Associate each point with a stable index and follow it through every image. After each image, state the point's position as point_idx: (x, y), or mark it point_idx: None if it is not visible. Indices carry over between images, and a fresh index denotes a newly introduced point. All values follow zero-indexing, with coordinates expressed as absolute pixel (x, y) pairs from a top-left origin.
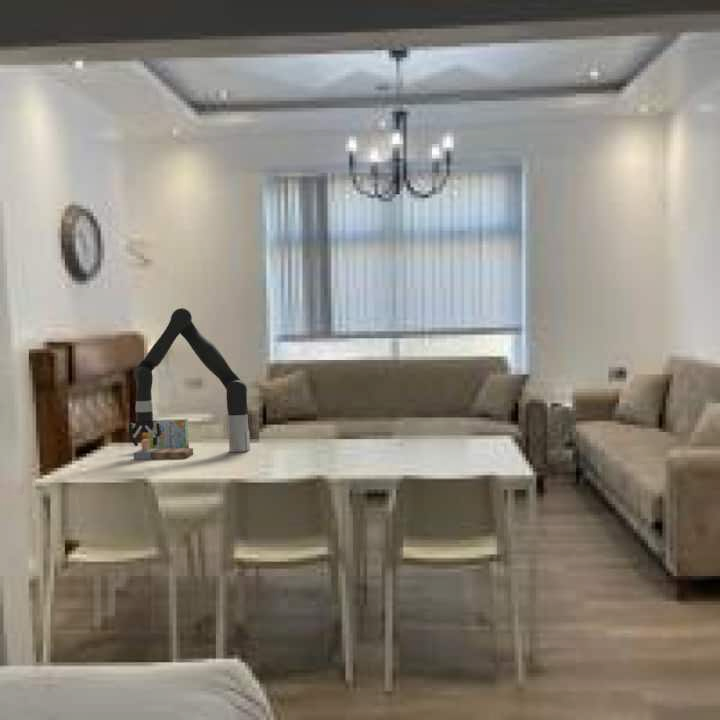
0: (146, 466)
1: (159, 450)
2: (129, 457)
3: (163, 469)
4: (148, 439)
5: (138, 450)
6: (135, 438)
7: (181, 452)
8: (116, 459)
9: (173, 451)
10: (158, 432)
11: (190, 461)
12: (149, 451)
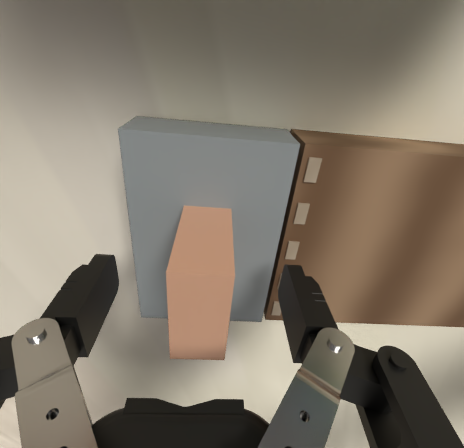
0: (264, 409)
1: (314, 238)
2: (69, 183)
3: (327, 443)
4: (228, 308)
5: (132, 226)
6: (80, 353)
7: (452, 324)
8: (19, 248)
9: (412, 296)
10: (388, 437)
11: (446, 355)
12: (244, 287)
